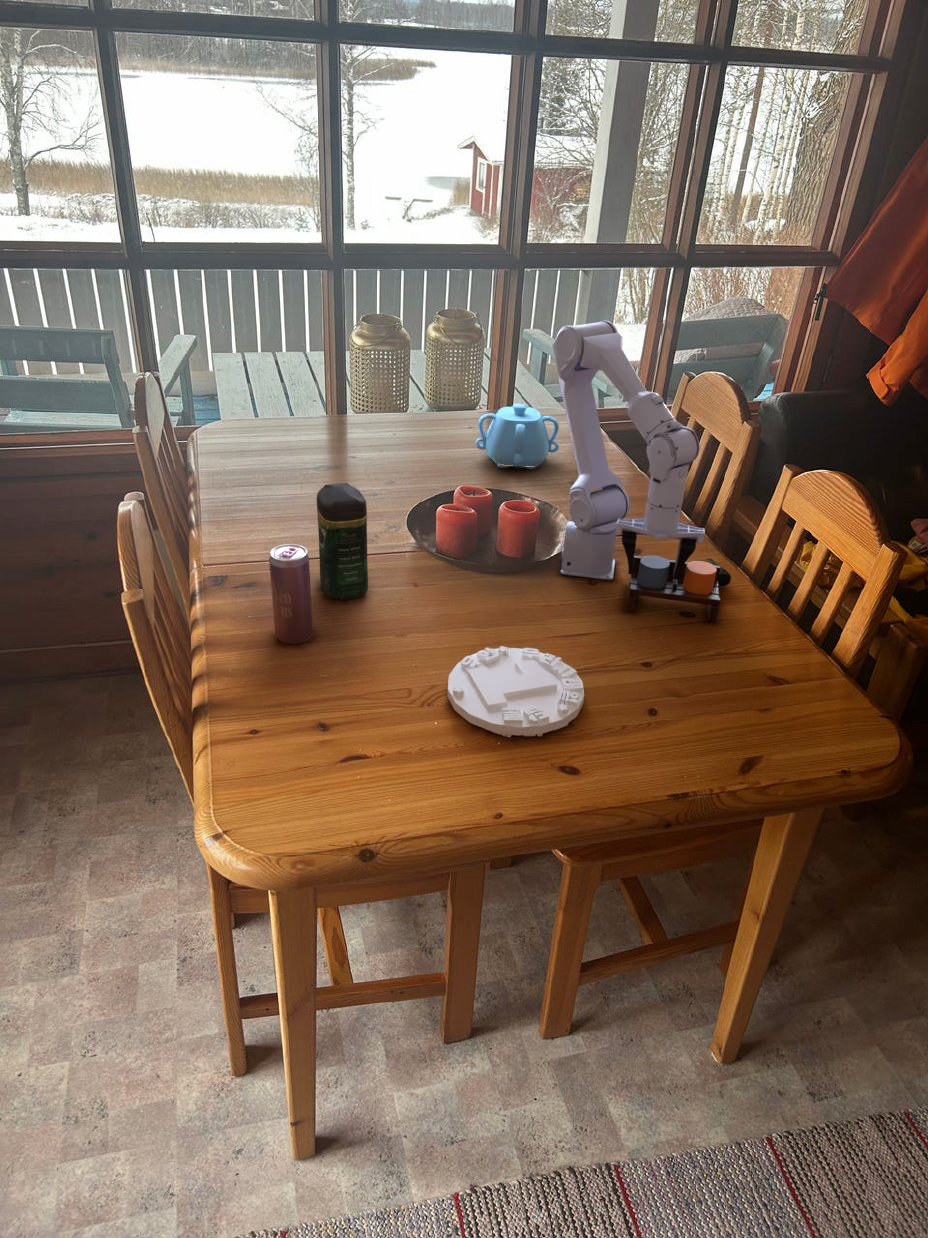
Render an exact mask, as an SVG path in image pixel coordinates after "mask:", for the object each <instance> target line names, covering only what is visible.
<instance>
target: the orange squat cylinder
mask: <svg viewBox="0 0 928 1238" xmlns="http://www.w3.org/2000/svg"><path fill="white" fill-rule="evenodd" d="M688 562H689V563H688V564H687V566H686V572H685V577H684V583H683V588H684V589H685V590H686V591H688V592H690V593H692V594H696V595H707V594H710V593H711V592H712V590H713V586H714V581H715V576H716V571H717V569H716V567H715V566H714V565H712V564H710V563H708V562H704V561H694V560H692V561H688Z"/></svg>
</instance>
